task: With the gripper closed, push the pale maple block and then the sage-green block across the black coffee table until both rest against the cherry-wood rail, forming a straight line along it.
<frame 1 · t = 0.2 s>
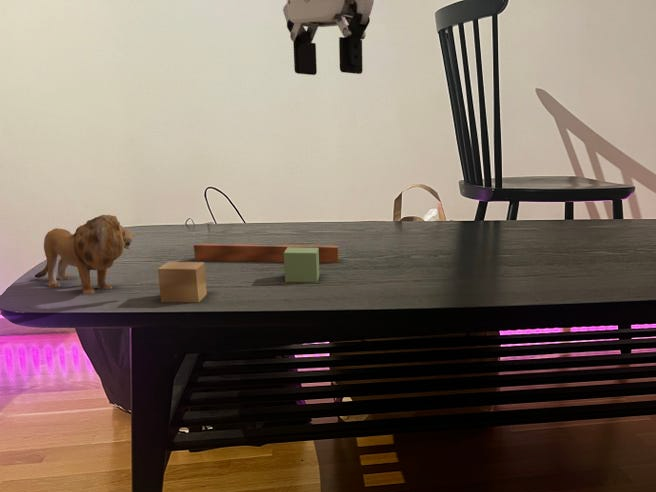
hand: (327, 73, 92), 26 cm above the table, tool pointing down, fingers open, 9 cm apart
lion figurine: (86, 290, 83), on the table
rail: (268, 262, 102), on the table
maple block: (184, 300, 79), on the table
sage block: (302, 280, 91), on the table
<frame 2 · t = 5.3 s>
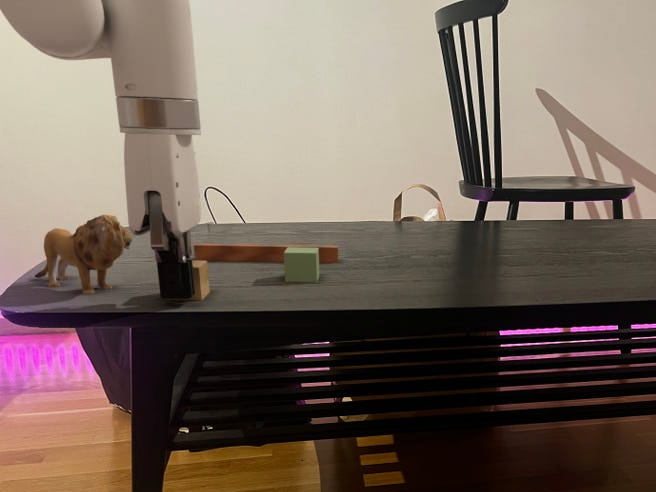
hand: (178, 296, 76), 1 cm above the table, tool pointing down, fingers closed
maple block: (188, 298, 80), on the table, touching gripper
everything else where it was.
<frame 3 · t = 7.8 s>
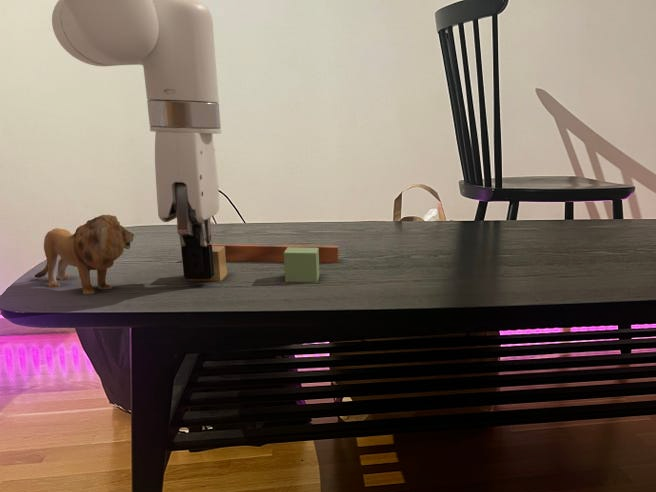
hand: (199, 277, 85), 1 cm above the table, tool pointing down, fingers closed
maple block: (207, 279, 90), on the table, touching gripper
everything else where it was.
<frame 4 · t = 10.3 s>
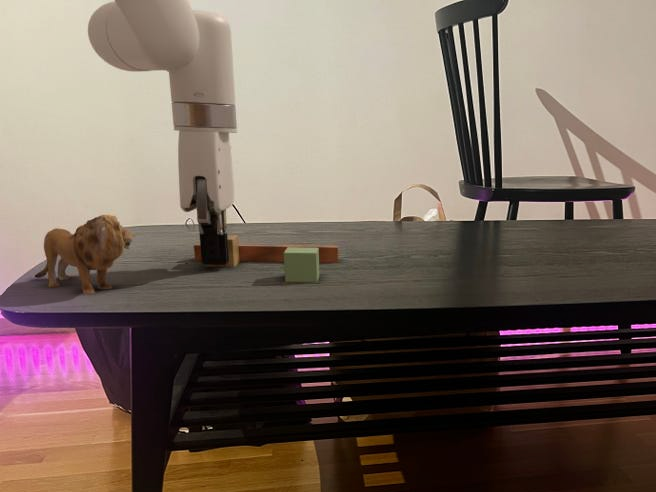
hand: (215, 263, 94), 1 cm above the table, tool pointing down, fingers closed
maple block: (222, 265, 98), on the table, touching gripper, rail
everything else where it was.
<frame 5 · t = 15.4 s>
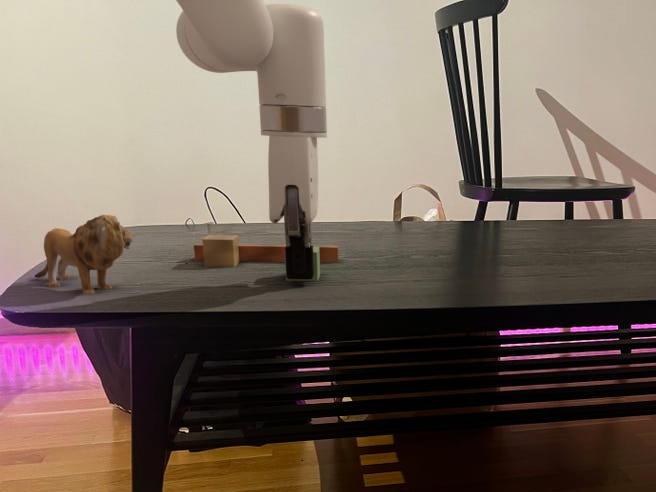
hand: (300, 277, 87), 1 cm above the table, tool pointing down, fingers closed
maple block: (222, 265, 98), on the table
sage block: (303, 279, 92), on the table, touching gripper
everything else where it was.
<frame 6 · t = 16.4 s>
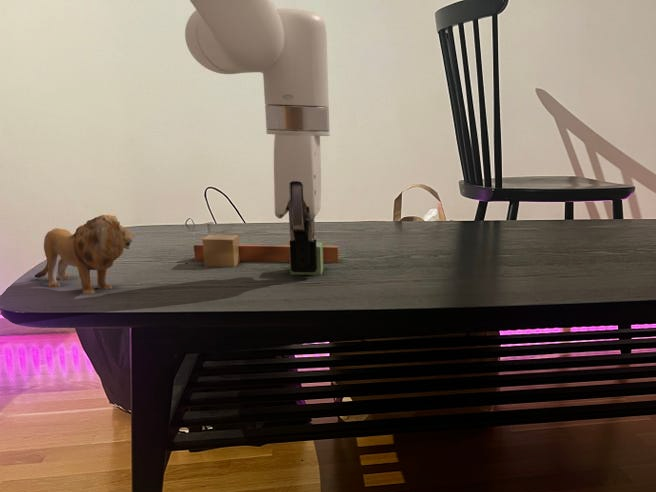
hand: (304, 270, 91), 1 cm above the table, tool pointing down, fingers closed
sage block: (307, 273, 95), on the table, touching gripper
everything else where it was.
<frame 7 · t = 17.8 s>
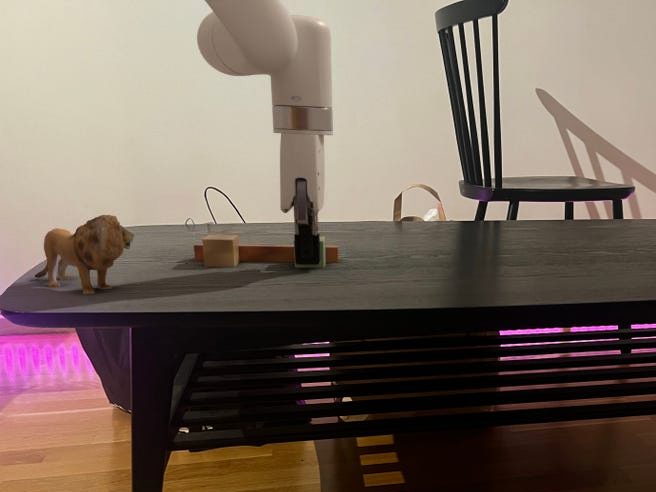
hand: (308, 263, 96), 1 cm above the table, tool pointing down, fingers closed
sage block: (310, 266, 100), on the table, touching gripper, rail
everything else where it was.
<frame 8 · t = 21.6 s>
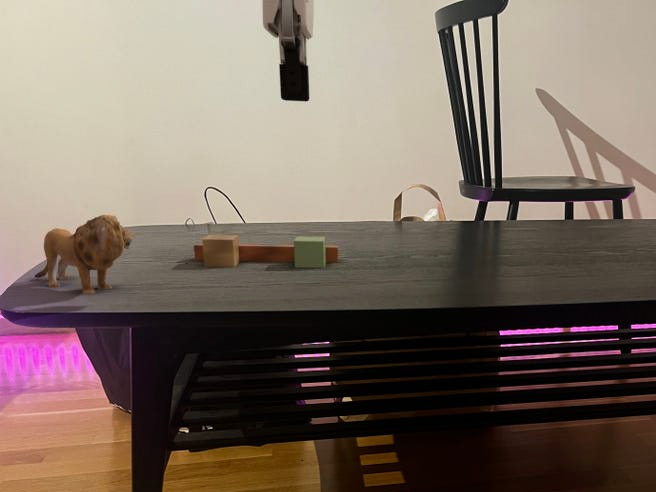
hand: (295, 100, 84), 22 cm above the table, tool pointing down, fingers closed
sage block: (310, 266, 100), on the table
everything else where it was.
at the end: maple block inside the target area on the table beside the rail (5.9 cm from its centre), on the table; sage block inside the target area on the table beside the rail (6.3 cm from its centre), on the table; maple block tilted 0° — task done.
